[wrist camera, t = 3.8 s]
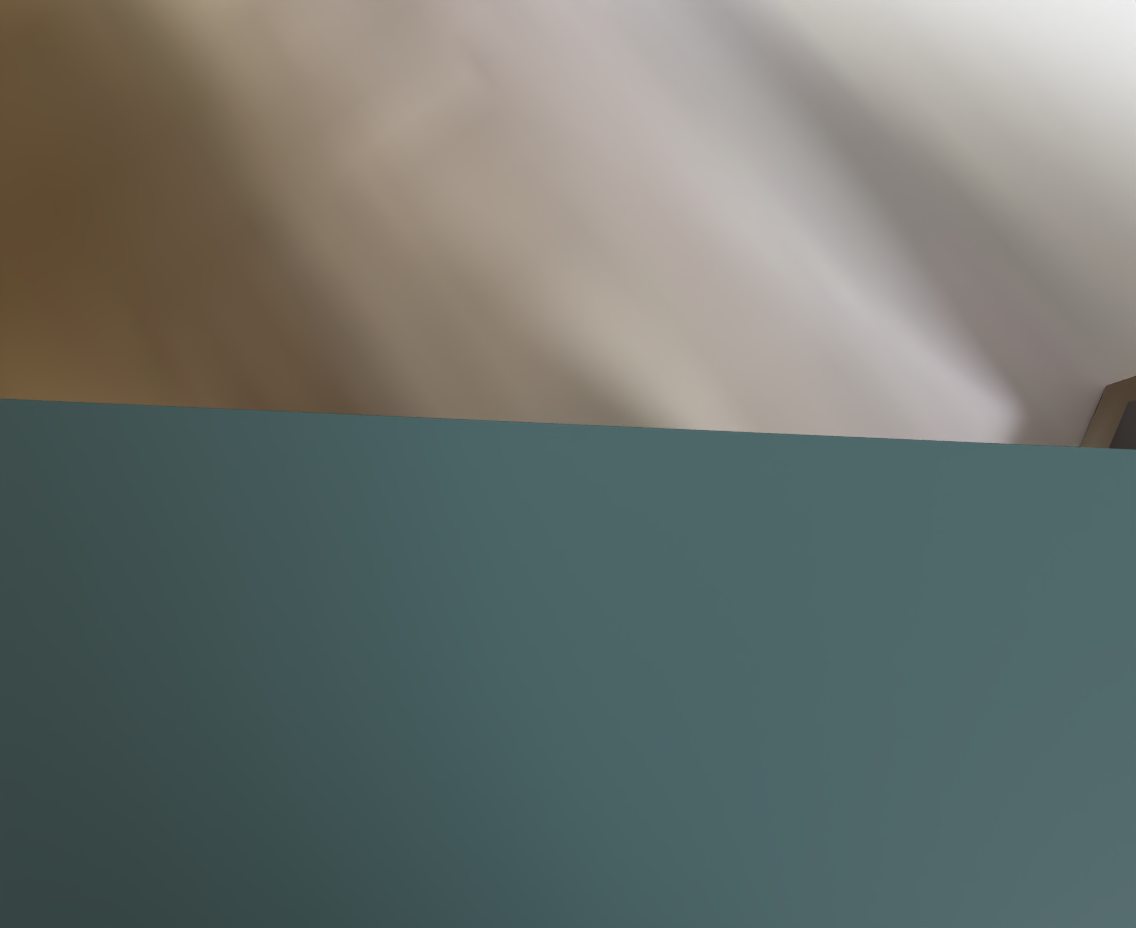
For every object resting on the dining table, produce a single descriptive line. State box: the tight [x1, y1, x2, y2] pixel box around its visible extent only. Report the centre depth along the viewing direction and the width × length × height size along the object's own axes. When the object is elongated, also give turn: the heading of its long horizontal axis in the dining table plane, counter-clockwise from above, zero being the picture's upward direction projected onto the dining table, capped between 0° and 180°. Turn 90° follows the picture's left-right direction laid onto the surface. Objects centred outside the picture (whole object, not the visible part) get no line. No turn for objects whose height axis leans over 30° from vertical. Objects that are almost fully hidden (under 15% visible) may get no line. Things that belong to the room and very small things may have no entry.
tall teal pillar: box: [0, 399, 1136, 928], centre depth 9 cm, size 4×6×13 cm, turn 87°
